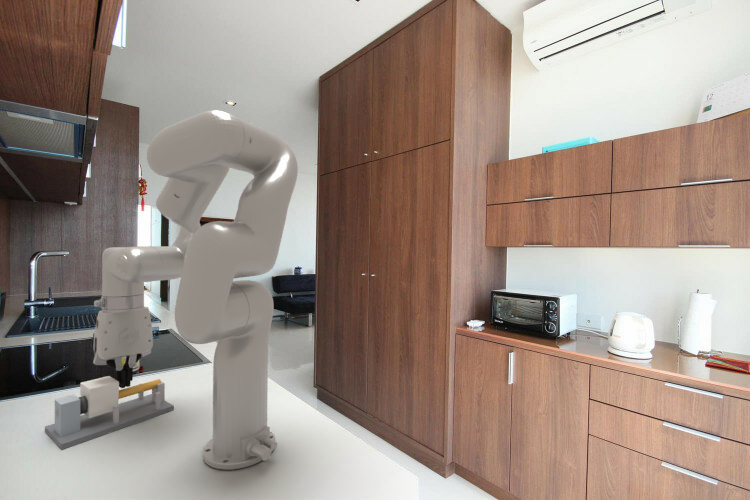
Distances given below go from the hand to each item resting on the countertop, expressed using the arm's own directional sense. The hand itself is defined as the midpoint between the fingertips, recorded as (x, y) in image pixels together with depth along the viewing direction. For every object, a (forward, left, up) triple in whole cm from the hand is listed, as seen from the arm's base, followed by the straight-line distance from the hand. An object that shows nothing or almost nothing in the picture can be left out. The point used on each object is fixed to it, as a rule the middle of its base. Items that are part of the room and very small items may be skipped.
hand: (123, 385), depth 78 cm
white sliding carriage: (0, +4, -4) cm, 6 cm away
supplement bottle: (+32, -13, -7) cm, 35 cm away
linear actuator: (0, +2, -7) cm, 7 cm away
